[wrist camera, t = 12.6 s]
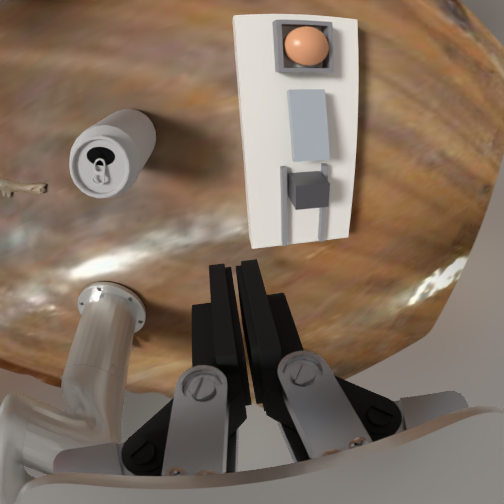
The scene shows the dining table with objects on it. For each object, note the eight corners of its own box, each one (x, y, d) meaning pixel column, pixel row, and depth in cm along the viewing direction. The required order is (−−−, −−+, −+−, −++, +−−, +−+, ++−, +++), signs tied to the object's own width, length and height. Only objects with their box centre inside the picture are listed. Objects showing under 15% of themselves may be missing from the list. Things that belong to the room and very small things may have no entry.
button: (321, 65, 29) (329, 65, 27) (283, 64, 29) (288, 65, 27) (320, 29, 27) (327, 27, 25) (281, 28, 26) (286, 25, 24)
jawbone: (-43, 192, 34) (-50, 196, 32) (27, 133, 32) (20, 135, 31) (-22, 235, 38) (-28, 240, 36) (51, 187, 37) (45, 191, 35)
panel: (341, 226, 46) (353, 245, 42) (249, 237, 45) (253, 258, 41) (347, 21, 29) (365, 18, 25) (232, 19, 28) (235, 12, 24)
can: (161, 110, 33) (140, 132, 24) (153, 167, 38) (133, 209, 28) (104, 105, 32) (63, 127, 22) (99, 161, 36) (63, 201, 26)
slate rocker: (326, 159, 34) (329, 159, 33) (292, 161, 34) (294, 161, 32) (321, 90, 31) (324, 89, 30) (286, 91, 31) (288, 89, 29)
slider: (318, 192, 39) (328, 206, 36) (288, 195, 39) (295, 209, 35) (319, 170, 37) (329, 183, 34) (287, 173, 37) (295, 186, 34)
